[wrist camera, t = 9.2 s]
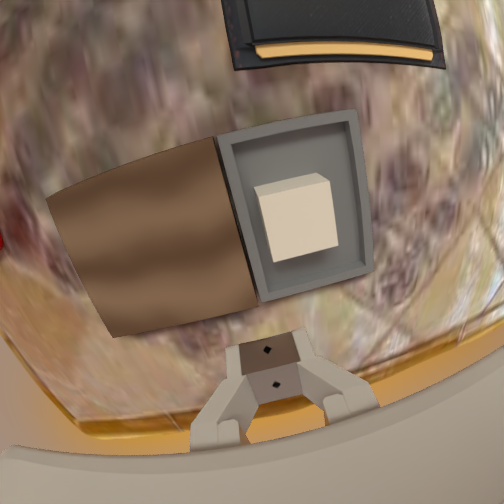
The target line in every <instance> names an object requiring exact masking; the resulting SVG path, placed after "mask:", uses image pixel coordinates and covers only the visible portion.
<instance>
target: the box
mask: <svg viewBox="0 0 504 504" xmlns="http://www.w3.org/2000/svg"><path fill="white" fill-rule="evenodd" d="M217 139H218V143H219V147H220V151H221V154H222V158H223V162H224V166H225V169H226V173H227V177H228V181H229V184H230V188H231V192H232V196H233V199H234V203H235V207H236V211H237V214H238V218H239V222H240V225H241V229H242V233H243V237H244V240H245V244H246V248H247V251H248V255H249V259H250V262H251V266H252V270H253V274H254V277H255V281H256V285H257V288H258V292H259V296H260V299H261V303H262V302H266V301H270V300H274V299H278V298H282V297H285V296H289V295H293V294H297V293H300V292H304V291H308V290H311V289H315V288H318V287H322V286H326V285H329V284H333V283H336V282H339V281H343V280H346V279H350V278H353V277H356V276H360V275H363V274H366V273H370V272H373V271H374V258H373V239H372V225H371V212H370V202H369V192H368V183H367V175H366V167H365V159H364V152H363V146H362V139H361V133H360V127H359V121H358V116H357V111H356V109H345V110H337V111H331V112H324V113H318V114H312V115H306V116H301V117H295V118H290V119H285V120H280V121H275V122H270V123H266V124H261V125H257V126H252V127H248V128H244V129H240V130H235V131H231V132H228V133H224V134H220V135H217ZM313 173H318V174H320V175H321V176H323V177H324V178H326V179H328V180H329V181H330V187H331V194H332V200H333V207H334V215H335V222H336V230H337V239H338V246H335V247H331V248H327V249H323V250H320V251H316V252H312V253H308V254H304V255H301V256H297V257H293V258H289V259H285V260H281V261H277V262H273V260H272V257H271V254H270V251H269V248H268V245H267V241H266V237H265V233H264V228H263V224H262V220H261V216H260V211H259V207H258V203H257V199H256V195H255V190H254V187H256V186H261V185H265V184H269V183H273V182H277V181H282V180H286V179H290V178H295V177H299V176H304V175H308V174H313Z"/></svg>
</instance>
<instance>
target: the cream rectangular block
mask: <svg viewBox="0 0 504 504" xmlns="http://www.w3.org/2000/svg"><path fill="white" fill-rule="evenodd" d="M254 190H255V195H256V199H257V203H258V207H259V211H260V216H261V220H262V224H263V228H264V233H265V237H266V241H267V245H268V248H269V251H270V254H271V257H272V260H273V262H277V261H281V260H285V259H289V258H293V257H297V256H301V255H304V254H308V253H312V252H316V251H320V250H323V249H327V248H331V247H335V246H338V239H337V230H336V222H335V215H334V207H333V200H332V194H331V187H330V181H329V180H328V179H326V178H324V177H323V176H321V175H320V174H318V173H313V174H308V175H304V176H299V177H295V178H290V179H286V180H282V181H277V182H273V183H269V184H265V185H261V186H256V187H254Z"/></svg>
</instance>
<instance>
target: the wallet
mask: <svg viewBox="0 0 504 504" xmlns="http://www.w3.org/2000/svg"><path fill="white" fill-rule="evenodd" d="M221 3H222V9H223V15H224V20H225V26H226V32H227V37H228V41H229V46H230V51H231V56H232V62H233V67H234V70H244V69H255V68H265V67H272V66H279V65H287V64H297V63H314V62H377V63H394V64H407V65H417V66H425V67H433V68H440V69H446V65H445V59H444V52H443V44H442V36H441V31H440V26H439V22H438V17H437V13H436V9H435V5H434V1H433V0H221Z"/></svg>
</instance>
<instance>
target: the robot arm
mask: <svg viewBox="0 0 504 504" xmlns="http://www.w3.org/2000/svg"><path fill="white" fill-rule="evenodd" d="M225 359H226V378H227V379H224V380H222V382H221V383H220V385H219V386H218V387H217V389H216V390H215V392H214V393H213V394H212V396H211V397H210V399H209V400H208V401H207V403H206V404H205V406H204V407H203V408H202V410H201V411H200V413H199V414H198V415H197V417H196V418H195V419H194V421H193V422H192V424H191V434H190V452H189V453H178V454H161V455H94V454H79V453H69V452H59V451H51V450H43V449H37V448H30V447H25V446H20V445H11V446H9V447H8V448H7V449H5V450H4V451H3V452H1V453H0V504H504V345H503V346H501V347H499V348H498V349H497V350H495V351H493V352H492V353H490V354H488V355H487V356H485V357H483V358H482V359H480V360H478V361H477V362H475V363H473V364H471V365H470V366H468V367H466V368H464V369H463V370H461V371H459V372H457V373H455V374H453V375H451V376H450V377H447V378H446V379H444V380H442V381H440V382H438V383H436V384H434V385H432V386H429V387H427V388H426V389H423V390H421V391H419V392H416V393H414V394H412V395H410V396H407V397H405V398H403V399H401V400H398V401H396V402H393V403H391V404H388V405H386V406H383V407H380V405H379V403H378V401H377V399H376V397H375V395H374V393H373V391H372V389H371V387H370V384H369V382H367V381H365V380H363V379H361V378H359V377H358V376H356V375H354V374H352V373H350V372H348V371H346V370H345V369H343V368H341V367H339V366H337V365H336V364H334V363H332V362H330V361H328V360H327V359H325V358H323V357H321V356H318V357H316V355H315V352H314V350H313V347H312V344H311V342H310V339H309V336H308V334H307V331H306V329H305V328H300V329H297V330H294V331H291V332H287V333H283V334H280V335H276V336H272V337H268V338H265V339H260V340H256V341H251V342H246V343H242V344H239V345H233V346H228V347H226V349H225ZM301 394H303V395H304V396H305V397H307V398H308V399H309V400H310V401H312V402H313V403H314V404H315V405H317V406H318V407H319V408H320V409H322V410H323V411H324V418H325V427H321V428H318V429H315V430H311V431H307V432H303V433H300V434H295V435H291V436H287V437H283V438H278V439H274V440H269V441H264V442H259V443H254V444H250V442H249V440H248V438H247V437H246V435H245V434H246V432H247V430H248V428H249V426H250V423H251V421H252V419H253V417H254V415H255V413H256V411H257V409H258V407H259V406H258V405H260V404H264V403H268V402H272V401H276V400H279V399H280V398H281V399H284V398H288V397H292V396H297V395H301Z"/></svg>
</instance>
